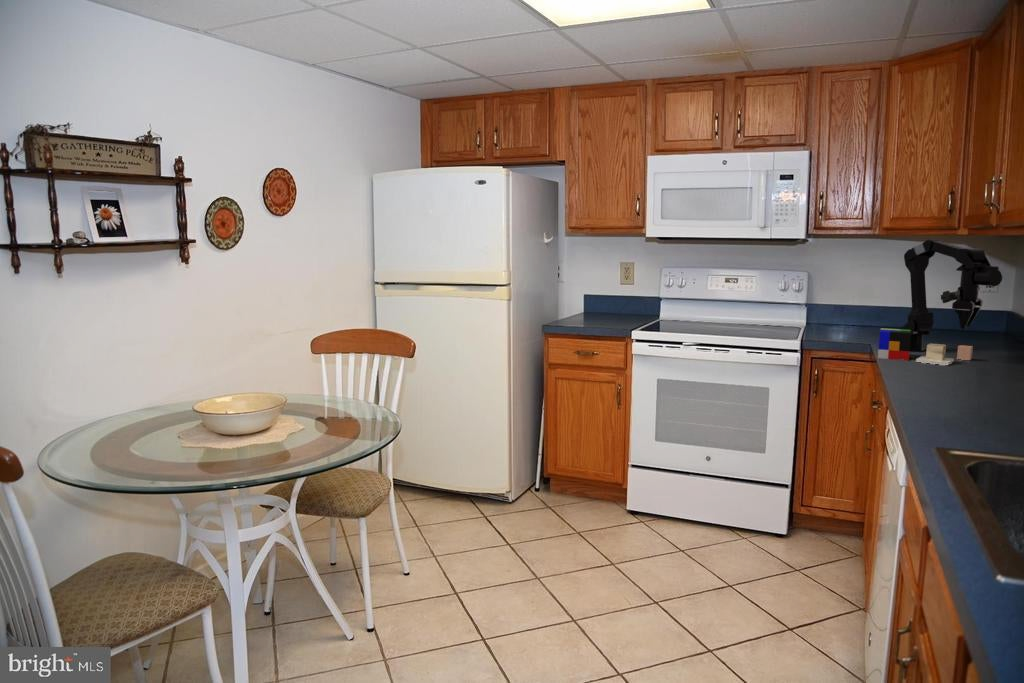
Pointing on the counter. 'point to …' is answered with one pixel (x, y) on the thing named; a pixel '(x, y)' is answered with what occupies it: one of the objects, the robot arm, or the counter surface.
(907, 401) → the counter surface
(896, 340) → the puzzle toy
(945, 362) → the building plate
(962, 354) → the terracotta brick
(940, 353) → the maple brick
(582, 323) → the counter surface
